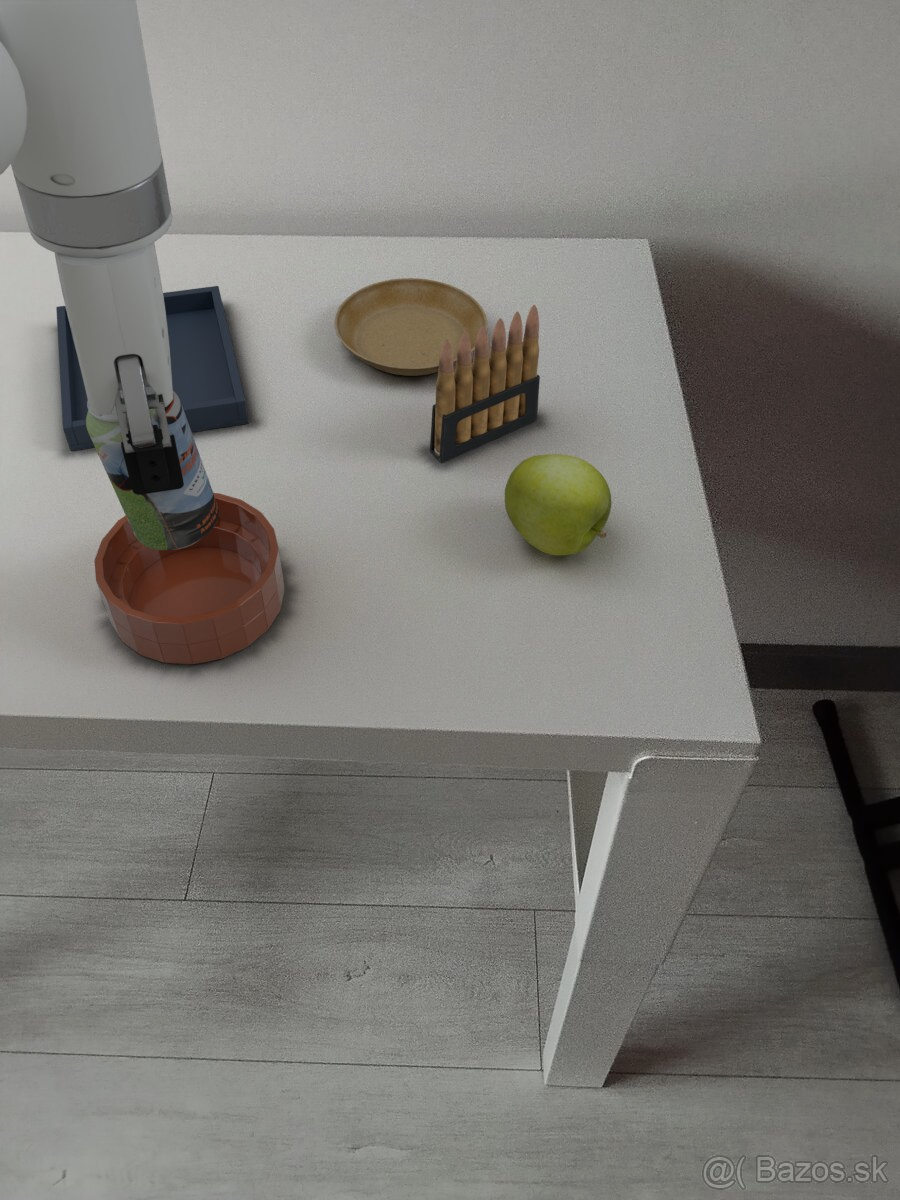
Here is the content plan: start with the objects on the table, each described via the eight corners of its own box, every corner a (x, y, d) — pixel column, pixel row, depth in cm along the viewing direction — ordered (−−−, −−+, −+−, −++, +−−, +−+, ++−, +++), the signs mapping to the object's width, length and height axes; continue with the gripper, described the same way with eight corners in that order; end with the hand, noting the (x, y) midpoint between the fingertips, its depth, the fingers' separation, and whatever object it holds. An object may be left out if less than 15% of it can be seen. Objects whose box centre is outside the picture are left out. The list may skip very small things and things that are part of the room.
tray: (70, 451, 91) (62, 428, 89) (63, 329, 103) (56, 306, 101) (248, 423, 94) (245, 400, 92) (222, 307, 106) (218, 285, 104)
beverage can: (213, 564, 72) (188, 428, 63) (106, 558, 72) (65, 421, 62) (228, 500, 76) (207, 365, 67) (127, 495, 76) (92, 358, 67)
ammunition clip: (525, 409, 96) (536, 296, 87) (537, 420, 95) (550, 307, 86) (429, 451, 92) (430, 337, 83) (440, 463, 91) (443, 349, 82)
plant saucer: (517, 343, 103) (519, 321, 101) (411, 411, 96) (411, 388, 94) (411, 283, 109) (410, 261, 107) (304, 342, 102) (302, 319, 100)
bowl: (116, 682, 75) (100, 639, 71) (105, 553, 83) (90, 508, 79) (297, 646, 78) (291, 603, 74) (269, 524, 86) (262, 479, 82)
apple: (577, 595, 82) (590, 523, 75) (483, 543, 85) (488, 470, 79) (628, 538, 86) (644, 466, 80) (536, 491, 89) (545, 418, 83)
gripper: (20, 129, 60) (89, 384, 73) (23, 292, 49) (103, 556, 63) (153, 119, 62) (196, 370, 75) (185, 275, 51) (228, 536, 64)
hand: (153, 452), depth 69 cm, fingers closed on beverage can, 6 cm apart
